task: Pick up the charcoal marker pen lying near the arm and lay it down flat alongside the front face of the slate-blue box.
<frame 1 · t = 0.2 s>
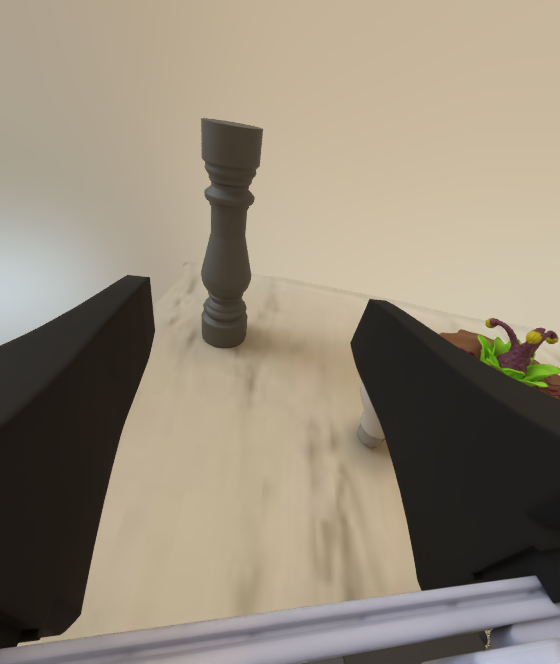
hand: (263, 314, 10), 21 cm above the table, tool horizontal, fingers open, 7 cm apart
plant: (488, 388, 42), on the table
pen: (398, 652, 19), on the table
lightbulb: (366, 441, 32), on the table
candle holder: (224, 335, 42), on the table
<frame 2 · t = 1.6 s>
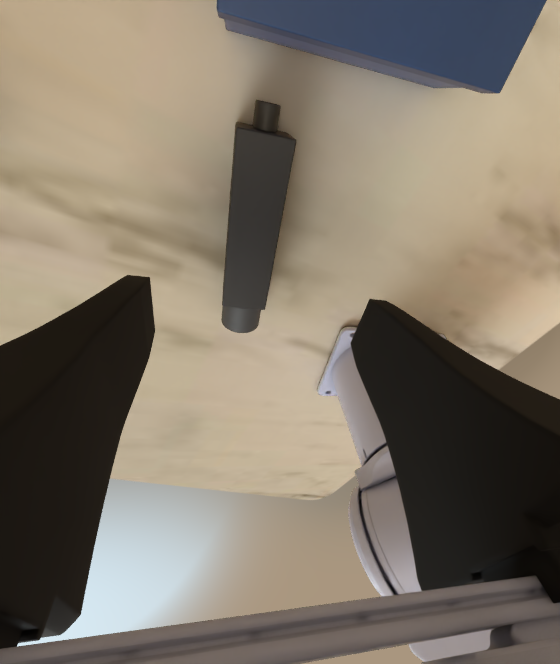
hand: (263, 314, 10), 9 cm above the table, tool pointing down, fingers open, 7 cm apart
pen: (251, 219, 17), on the table
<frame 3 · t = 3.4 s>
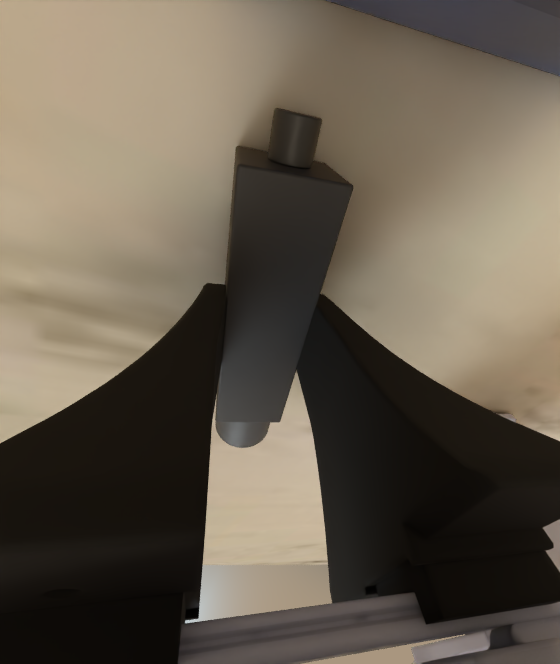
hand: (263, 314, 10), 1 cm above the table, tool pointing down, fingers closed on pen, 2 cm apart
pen: (260, 292, 11), on the table, touching gripper
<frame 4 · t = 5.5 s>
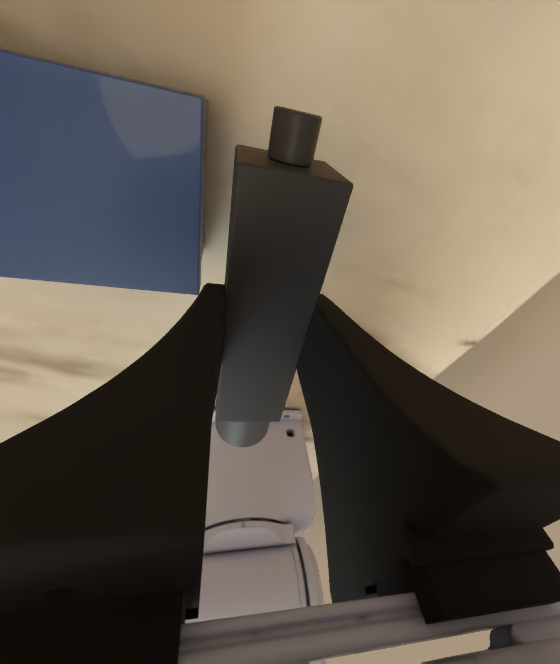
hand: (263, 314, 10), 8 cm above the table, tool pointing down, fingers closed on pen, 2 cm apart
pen: (259, 291, 11), point 7 cm above the table, touching gripper
blue box: (95, 167, 14), on the table
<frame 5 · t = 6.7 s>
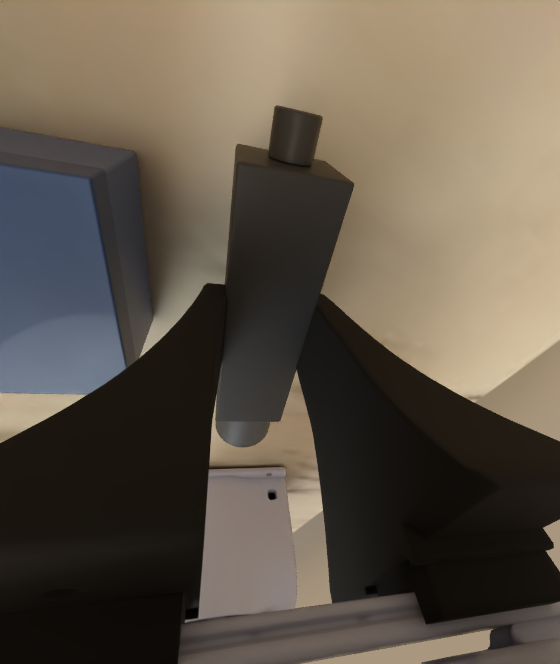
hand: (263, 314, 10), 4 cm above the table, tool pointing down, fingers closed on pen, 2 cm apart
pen: (260, 291, 11), point 2 cm above the table, touching gripper
blue box: (2, 233, 11), on the table
when the fingers open (1 cm above the table, at t = 7.8 s): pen stays where it is, on the table.
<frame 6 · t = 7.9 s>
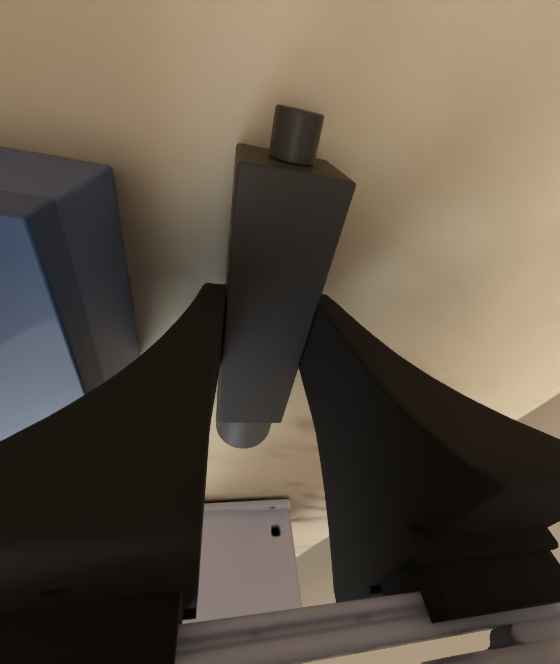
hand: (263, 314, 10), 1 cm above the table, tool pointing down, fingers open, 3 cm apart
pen: (260, 291, 11), on the table
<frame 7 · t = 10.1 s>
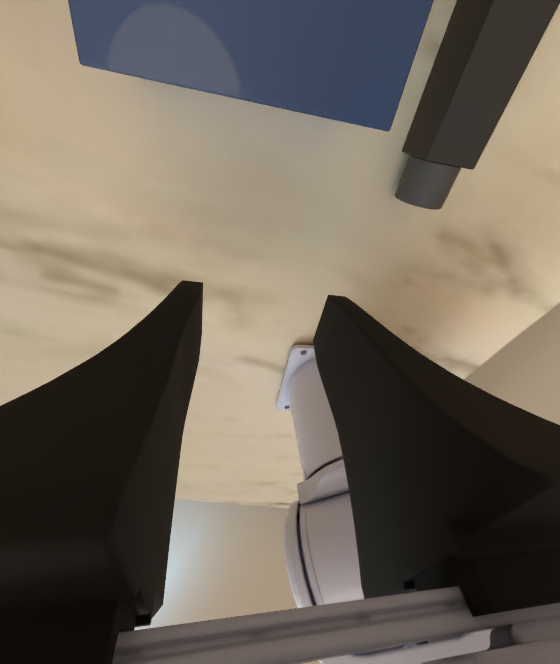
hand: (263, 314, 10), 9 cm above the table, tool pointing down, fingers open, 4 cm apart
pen: (470, 39, 13), on the table
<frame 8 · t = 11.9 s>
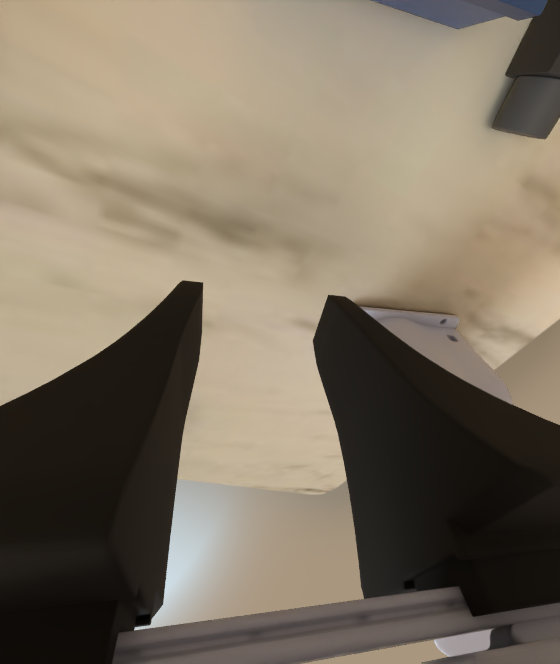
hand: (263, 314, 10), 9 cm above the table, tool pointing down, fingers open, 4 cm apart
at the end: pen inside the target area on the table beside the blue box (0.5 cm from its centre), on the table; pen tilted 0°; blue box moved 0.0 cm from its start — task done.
